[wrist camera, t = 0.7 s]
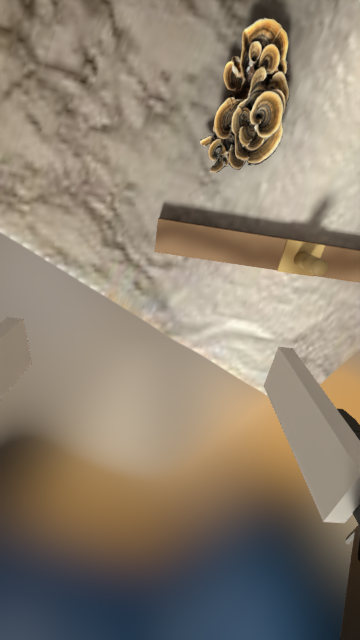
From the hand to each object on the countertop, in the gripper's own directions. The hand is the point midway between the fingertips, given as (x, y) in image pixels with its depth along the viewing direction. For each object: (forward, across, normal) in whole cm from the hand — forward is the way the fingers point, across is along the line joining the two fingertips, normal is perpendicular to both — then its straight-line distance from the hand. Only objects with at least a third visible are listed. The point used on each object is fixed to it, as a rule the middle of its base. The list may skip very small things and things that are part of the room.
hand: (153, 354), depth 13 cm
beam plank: (+24, +13, +2) cm, 27 cm away
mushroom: (+24, +6, +16) cm, 30 cm away
